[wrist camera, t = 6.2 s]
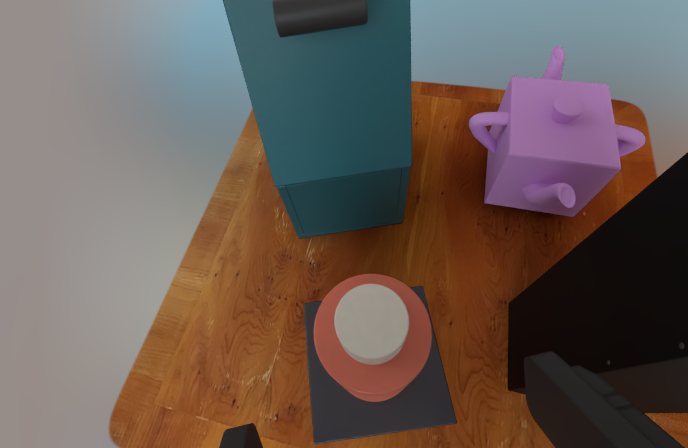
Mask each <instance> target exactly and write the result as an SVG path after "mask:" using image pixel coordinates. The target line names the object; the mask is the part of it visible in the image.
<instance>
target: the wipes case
mask: <svg viewBox="0 0 688 448" xmlns="http://www.w3.org/2000/svg"><path fill="white" fill-rule="evenodd" d="M409 174H410V166H407V167H400V168H393V169H387V170H380V171H374V172H367V173H361V174H354V175H348V176H341V177H334V178H328V179H321V180H315V181H308V182H302V183H295V184H289V185H282V186H277V189H278V191H279V193H280V196H281V198H282V200H283V203H284V205H285V207H286V210H287V212H288V214H289V217H290V219H291V221H292V223H293V226H294V228H295V230H296V233H297V235H298V237H299V238H305V237H312V236H319V235H325V234H332V233H338V232H345V231H352V230H358V229H365V228H372V227H378V226H385V225H391V224H398V223H403V217H404V210H405V203H406V196H407V189H408V181H409Z"/></svg>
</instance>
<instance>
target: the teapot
mask: <svg viewBox="0 0 688 448" xmlns="http://www.w3.org/2000/svg"><path fill="white" fill-rule="evenodd" d="M564 60H565V53H564V50H563V49H562V47H559V46H557V47H555V48H554V49H553V51H552V54H551V58H550V62H549V65H548V67H547V69H546V72H545V74H544V75H543V77H542V79H541V78H528V77H517V76H512V77H511V79H510V81H509V84H508V87H507V89H506V91H505V94H504V96H503V99H502V101H501V104H500V106H499V109H498V111H497V112H484V113H479V114H476V115H474V116H473V117H472V118H471V119H470V121H469V128H470V130H471V132H472V134H473V136H474V137H475V138H476V139H477V140H478V141H479V142H480V143H482V144H483V145H484V146H485V147H486V148H488V156H487V170H486V185H485V200H484V203H487V204H494V205H500V206H507V207H513V208H520V209H526V210H532V211H539V212H545V213H551V214H558V215H564V216H571V217H574V216H575V215H576V214H577V213H578V212H579V211H580V210H581V209H582V208H583V207H584V206H585V205H586V204H587V203H588V202H589V201H590V200H591V199H592V198H593V197H594V196H595V195H596V194H597V193H598V192H599V191H600V190H601V189H602V188H603V187H604V186H605V185H606V184H607V183H608V182H609V181H610V180H611V179H612V178H613V177H614V176H615V175H616V174H617V173H618V172H619V171H620V170H621V163H620V156H623V155H626V154H629V153H631V152H633V151H635V150H637V149H639V148H640V147H642V146H643V145H644V143H645V136H644V134H643V133H642V132H640V131H638V130H636V129H634V128H630V127H626V126H622V125H617V124H615V122H614V116H613V109H612V103H611V98H610V92H609V87H608V84H595V83H585V82H573V81H564V80H561V75H562V70H563V65H564ZM490 125H492V126H491V129H490V131H489V132H488V130H487V128H486V126H490ZM617 139H620V140H619V141H617Z"/></svg>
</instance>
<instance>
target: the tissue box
mask: <svg viewBox="0 0 688 448" xmlns="http://www.w3.org/2000/svg"><path fill="white" fill-rule="evenodd" d="M549 351H552V352H554V353H556V354H557V355H558V356H559V357H560V358H561V359H562V360H564V361H565V362H566V363H567V364H568V365H569V366H570V367H573V366H577V365H579V366H581V367H583V368H585V369H587V370H589V371H591V372H593V373H595V374H597V375H599V376H600V377H602V378H603V379H604V380H605V381H606V382H607V383H609V384H610V385H611V386H612V387H613V388H615V389H616V390H617V391H618V393H619V394H622V395H623V396H624V397H625V398H626V399H628V400H629V401H630V402H631V403H632V404H633V406H634V407H637V408H638V409H639V410H641V411H642V412H643V413H688V153H686V154H685V155H684V156H683V157H682V158H680V159H679V160H678V161H677V162H676V163H675V164H673V165H672V166H671V167H670V168H669V169H667V170H666V171H665V172H664V173H663V174H662V175H660V176H659V177H658V178H657V179H656V180H654V181H653V182H652V183H651V184H650V185H648V186H647V187H646V188H645V189H644V190H643V191H641V192H640V193H639V194H638V195H637V196H635V197H634V198H633V199H632V200H631V201H630V202H628V203H627V204H626V205H625V206H624V207H622V208H621V209H620V210H619V211H618V212H617V213H615V214H614V215H613V216H612V217H611V218H609V219H608V220H607V221H606V222H605V223H603V224H602V225H601V226H600V227H599V228H598V229H596V230H595V231H594V232H593V233H592V234H590V235H589V236H588V237H587V238H586V239H585V240H583V241H582V242H581V243H580V244H579V245H577V246H576V247H575V248H574V249H573V250H572V251H570V252H569V253H568V254H567V255H566V256H564V257H563V258H562V259H561V260H560V261H558V262H557V263H556V264H555V265H554V266H553V267H551V268H550V269H549V270H548V271H547V272H545V273H544V274H543V275H542V276H541V277H540V278H538V279H537V280H536V281H535V282H534V283H532V284H531V285H530V286H529V287H528V288H527V289H525V290H524V291H523V292H522V293H521V294H519V295H518V296H517V297H516V298H515V299H513V300H512V301H511V302H510V303H509V334H508V390H510V391H513V392H518V393H522V394H526V388H525V375H524V358H525V357H529V356H533V355H537V354H541V353H545V352H549Z"/></svg>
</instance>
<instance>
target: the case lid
mask: <svg viewBox="0 0 688 448" xmlns="http://www.w3.org/2000/svg"><path fill="white" fill-rule="evenodd" d="M223 3H224V6H225V10H226V14H227V17H228V21H229V24H230V27H231V31H232V35H233V38H234V42H235V46H236V49H237V52H238V56H239V60H240V63H241V67H242V71H243V74H244V78H245V81H246V85H247V88H248V92H249V96H250V99H251V103H252V106H253V110H254V113H255V117H256V121H257V124H258V128H259V131H260V135H261V138H262V142H263V146H264V149H265V153H266V156H267V160H268V163H269V167H270V171H271V174H272V178H273V181H274V185H275V186H282V185H289V184H295V183H302V182H308V181H315V180H321V179H328V178H334V177H341V176H348V175H354V174H361V173H367V172H374V171H380V170H387V169H393V168H400V167H407V166H412V108H411V32H410V31H411V30H410V29H411V26H410V0H223Z"/></svg>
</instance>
